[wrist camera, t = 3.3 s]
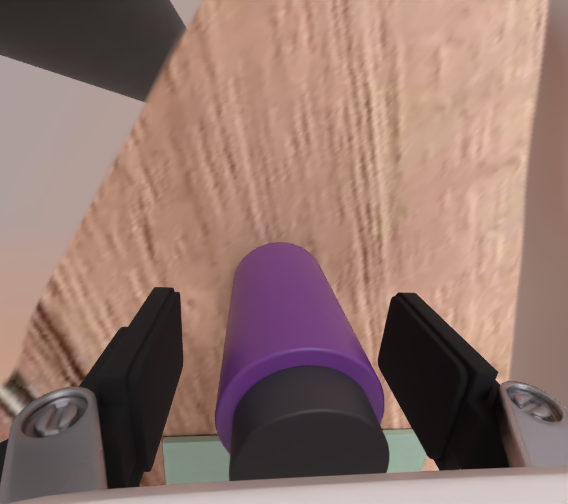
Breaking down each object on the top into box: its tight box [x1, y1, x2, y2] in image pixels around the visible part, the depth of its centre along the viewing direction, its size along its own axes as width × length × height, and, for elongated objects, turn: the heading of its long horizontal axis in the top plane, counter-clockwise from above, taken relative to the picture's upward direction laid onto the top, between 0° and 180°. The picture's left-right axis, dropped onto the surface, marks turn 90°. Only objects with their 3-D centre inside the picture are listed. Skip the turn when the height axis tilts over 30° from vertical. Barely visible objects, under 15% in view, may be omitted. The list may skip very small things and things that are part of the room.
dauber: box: [215, 243, 389, 481], centre depth 10 cm, size 4×4×9 cm
